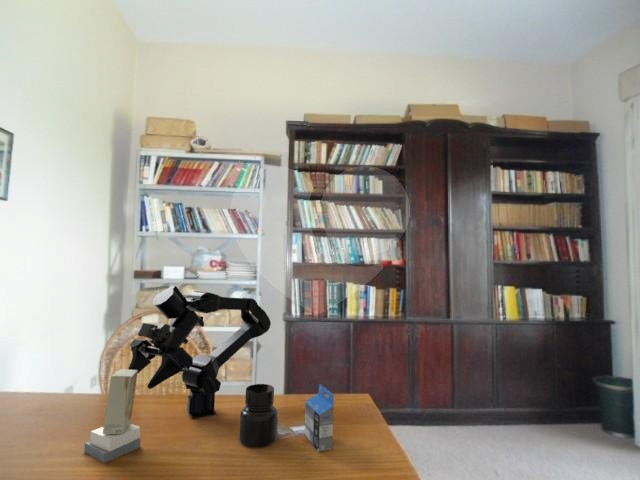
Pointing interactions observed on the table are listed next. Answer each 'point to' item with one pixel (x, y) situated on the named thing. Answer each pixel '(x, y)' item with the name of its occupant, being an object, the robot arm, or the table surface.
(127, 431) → the tower top
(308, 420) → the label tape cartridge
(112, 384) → the skincare box
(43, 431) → the table surface
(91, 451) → the tower bottom
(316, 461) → the table surface
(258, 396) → the ink bottle
